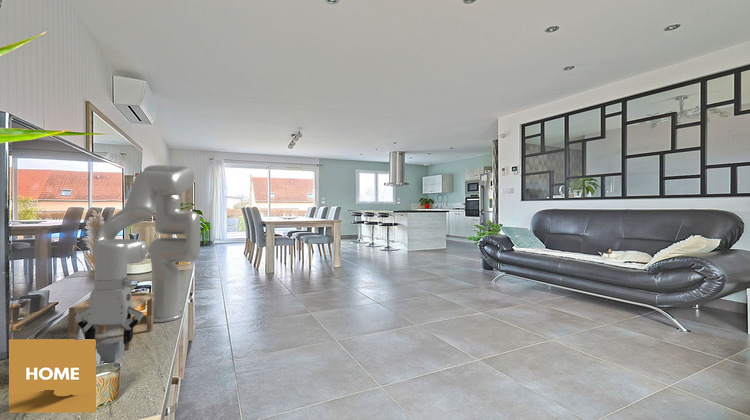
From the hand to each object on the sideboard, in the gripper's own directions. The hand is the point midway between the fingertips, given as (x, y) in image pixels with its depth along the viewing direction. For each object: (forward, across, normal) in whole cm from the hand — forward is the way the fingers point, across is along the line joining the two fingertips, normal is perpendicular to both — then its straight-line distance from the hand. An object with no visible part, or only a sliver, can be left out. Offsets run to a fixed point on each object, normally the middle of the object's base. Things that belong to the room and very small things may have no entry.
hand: (109, 343), depth 100 cm
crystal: (+6, -1, +14) cm, 15 cm away
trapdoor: (-8, +6, -15) cm, 18 cm away
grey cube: (+5, 0, -1) cm, 5 cm away
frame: (+4, +6, -15) cm, 17 cm away
